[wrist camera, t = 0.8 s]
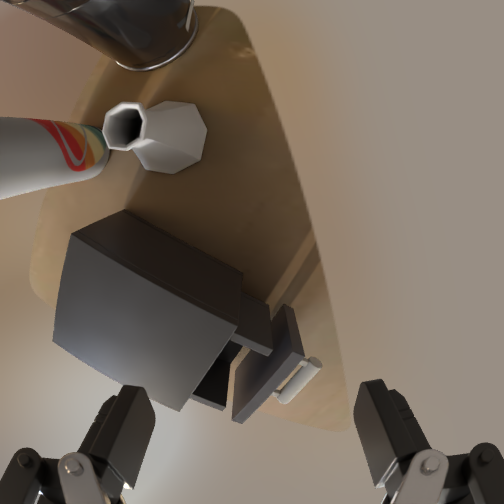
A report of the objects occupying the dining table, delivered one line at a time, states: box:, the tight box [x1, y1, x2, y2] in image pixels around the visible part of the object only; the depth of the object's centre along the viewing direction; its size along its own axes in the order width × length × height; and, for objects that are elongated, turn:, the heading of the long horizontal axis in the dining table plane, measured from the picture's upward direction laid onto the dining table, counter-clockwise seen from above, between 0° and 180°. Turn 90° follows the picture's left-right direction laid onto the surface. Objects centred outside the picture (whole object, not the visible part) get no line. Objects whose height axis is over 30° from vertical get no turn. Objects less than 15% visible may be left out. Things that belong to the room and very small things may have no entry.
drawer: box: [190, 291, 322, 424], centre depth 25 cm, size 17×10×8 cm, turn 60°
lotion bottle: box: [0, 117, 109, 200], centre depth 14 cm, size 6×6×20 cm
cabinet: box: [53, 209, 243, 412], centre depth 24 cm, size 14×12×10 cm
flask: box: [102, 101, 207, 174], centre depth 19 cm, size 7×7×10 cm
